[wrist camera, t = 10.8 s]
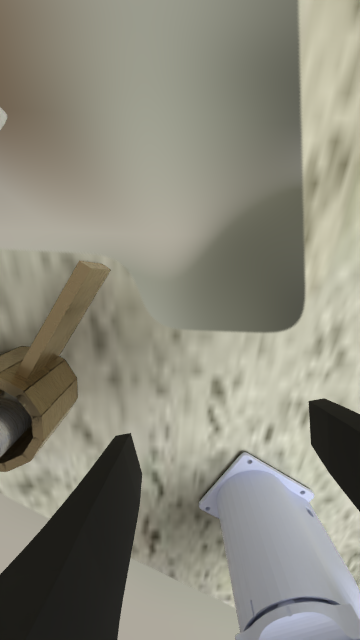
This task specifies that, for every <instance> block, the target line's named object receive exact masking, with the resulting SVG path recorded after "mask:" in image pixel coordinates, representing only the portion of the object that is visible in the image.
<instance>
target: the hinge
mask: <svg viewBox="0 0 360 640" xmlns="http://www.w3.org/2000/svg"><path fill="white" fill-rule="evenodd" d="M109 272H110V269H109V268H107V267H106V266H104V265H103V264H99V263H92V262H85V261H79V262H78V264H77V266H76V268H75V269H74V271H73V273H72V275H71V276H70V278H69V280H68V282H67V283H66V285H65V287H64V289H63V290H62V292H61V294H60V296H59V298H58V299H57V301H56V303H55V305H54V306H53V308H52V310H51V312H50V313H49V315H48V317H47V319H46V320H45V322H44V324H43V326H42V327H41V329H40V331H39V333H38V335H37V336H36V338H35V340H34V342H33V343H32V345H31V347H24V346H21V347H18V348H16V349H14V350H12V351H9V352H7V353H5V354H3V355H1V356H0V394H1V393H2V390H3V391H5V392H7V393H9V394H10V395H12V396H14V397H16V398H17V399H18V400H19V401H20V403H21V404H22V405H23V407H24V408H25V410H26V411H27V412H28V414H29V415H30V416H31V420H32V425H31V426H30V427H29V428H28V429H27V430H26V431H25V432H24V433H23V434H22V435H21V436H20V437H19V438H18V439H17V440H16V441H15V443H14V444H13V445H12V446H11V447H10V448H9V449H8V450H7V451H6V452H5V453H4V454H3V455H2V456H1V457H0V471H1V472H6V471H10V470H12V469H14V468H16V467H19V466H21V465H23V464H25V463H28V462H30V461H31V460H32V459H33V458H34V456H35V455H36V454H37V452H38V451H39V450H40V449H41V447H42V446H43V445H44V443H45V442H46V441H47V439H48V438H49V437H50V436H51V434H52V433H53V432H54V430H55V429H56V428H57V426H58V425H59V424H60V423H61V421H62V420H63V419H64V417H65V416H66V415H67V414H68V412H69V410H70V409H71V407H72V406H73V404H74V403H75V401H76V400H77V398H78V394H77V379H76V378H77V377H76V376H75V374H74V373H73V371H72V370H71V368H70V367H69V365H68V364H67V362H66V361H65V360H64V359H63V358H61V357H59V355H60V353H61V352H62V350H63V348H64V347H65V345H66V343H67V342H68V340H69V338H70V337H71V335H72V333H73V332H74V330H75V328H76V327H77V325H78V324H79V322H80V320H81V319H82V317H83V315H84V314H85V312H86V310H87V309H88V307H89V305H90V304H91V302H92V300H93V299H94V297H95V295H96V294H97V292H98V290H99V289H100V287H101V285H102V284H103V282H104V280H105V279H106V277H107V275H108V274H109Z"/></svg>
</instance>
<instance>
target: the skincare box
mask: <svg viewBox="0 0 360 640" xmlns="http://www.w3.org/2000/svg"><path fill="white" fill-rule="evenodd" d="M6 120H7V114H6V113H5V112H4V110H3V109H2V108H0V131H1V129H2V127H3V126H4V124H5V122H6Z"/></svg>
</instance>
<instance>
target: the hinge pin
mask: <svg viewBox="0 0 360 640" xmlns="http://www.w3.org/2000/svg"><path fill="white" fill-rule="evenodd" d="M31 425H32V420H31V416H30V415H29V414H28V412H27V411H26V410H25V408H24V407H23V405H22V404H21V403H20V401H19V400H18V399H17V398H16V397H14V396H12V395H10V394H9V393H7V392H5V391H4V392H2V393H1V394H0V457H1V456H2V455H3V454H4V453H5V452H6V451H7V450H8V449H9V448H10V447H11V446H12V445H13V444H14V443H15V441H16V440H17V439H18V438H19V437H20V436H21V435H22V434H23V433H24V432H25V431H26V430H27V429H28V428H29V427H30V426H31Z"/></svg>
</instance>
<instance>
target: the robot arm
mask: <svg viewBox="0 0 360 640" xmlns="http://www.w3.org/2000/svg"><path fill="white" fill-rule="evenodd" d="M309 415H310V433H311V445H312V447H313V448H314V450H315V451H316V453H317V455H318V456H319V458H320V459H321V461H322V462H323V464H324V465H325V467H326V468H327V470H328V472H329V473H330V474H331V476H332V477H333V478H334V480H335V481H336V482H337V483H338V485H339V486H340V487H341V489H342V490H343V491H344V492H345V494H346V495H347V496H348V497H349V499H350V500H351V501H352V502H353V504H354V505H355V506H356V508H357V509H358V510H359V511H360V414H358V413H356V412H354V411H351V410H349V409H347V408H345V407H343V406H341V405H338V404H336V403H334V402H331V401H329V400H327V399H319V400H313V401H309ZM248 460H249V461H248ZM141 482H142V472H141V468H140V465H139V461H138V458H137V454H136V450H135V447H134V443H133V440H132V436H131V433H129V434H123V435H118V436H115V438H114V439H113V440H112V441H111V443H110V444H109V445H108V447H107V448H106V449H105V451H104V452H103V453H102V455H101V456H100V457H99V459H98V460H97V461H96V463H95V464H94V465H93V467H92V468H91V469H90V471H89V472H88V473H87V474H86V476H85V477H84V478H83V480H82V481H81V482H80V483H79V485H78V486H77V487H76V489H75V490H74V491H73V492H72V493H71V495H70V496H69V497H68V498H67V500H66V501H65V502H64V503H63V504H62V506H61V507H60V508H59V509H58V510H57V512H56V513H55V514H54V515H53V516H52V518H51V519H50V520H49V521H48V522H47V524H46V525H45V526H44V527H43V528H42V529H41V531H40V532H39V533H38V534H37V535H36V536H35V537H34V538H33V540H32V541H31V542H30V543H29V544H28V545H27V546H26V547H25V548H24V550H23V551H22V552H21V553H20V554H19V555H18V556H17V557H16V558H15V559H14V560H13V561H12V562H11V564H10V565H9V566H8V567H7V568H6V569H5V570H4V571H3V572H2V573H1V574H0V640H117V636H118V628H119V620H120V614H121V607H122V601H123V595H124V590H125V584H126V578H127V573H128V567H129V562H130V557H131V551H132V546H133V540H134V534H135V529H136V523H137V517H138V512H139V506H140V495H141ZM313 498H314V494H313V492H312V491H311V490H310V489H308V488H306V487H305V486H303V485H301V484H300V483H298V482H296V481H295V480H293V479H291V478H289V477H288V476H286V475H284V474H283V473H281V472H279V471H278V470H276V469H274V468H272V467H271V466H269V465H267V464H266V463H264V462H262V461H260V460H259V459H257V458H255V457H254V456H252V455H250V454H249V453H246V452H244V453H242V454H241V455H240V456H239V457H238V458H237V459H236V460H235V461H234V463H233V464H232V465H231V466H230V467H229V468H228V469H227V471H226V472H225V473H224V474H223V475H222V476H221V477H220V479H219V480H218V481H217V482H216V483H215V484H214V485H213V487H212V488H211V489H210V490H209V491H208V492H207V493H206V495H205V496H204V497H203V498H202V499H201V500H200V502H199V508H200V509H201V510H203V511H205V512H207V513H209V514H211V515H213V516H215V517H217V518H218V519H220V524H221V530H222V535H223V541H224V546H225V552H226V557H227V563H228V568H229V574H230V579H231V584H232V590H233V595H234V601H235V606H236V612H237V617H238V622H239V628H240V633H239V634H236V635H235V639H236V640H360V591H359V589H358V586H357V584H356V582H355V580H354V578H353V576H352V574H351V572H350V571H349V569H348V567H347V566H346V564H345V562H344V560H343V559H342V557H341V555H340V554H339V552H338V550H337V549H336V547H335V545H334V543H333V542H332V540H331V538H330V537H329V535H328V533H327V532H326V530H325V528H324V527H323V525H322V523H321V521H320V520H319V518H318V516H317V515H316V513H315V511H314V510H313V508H312V506H311V505H310V503H309V502H310V501H311V500H312V499H313Z"/></svg>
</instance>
